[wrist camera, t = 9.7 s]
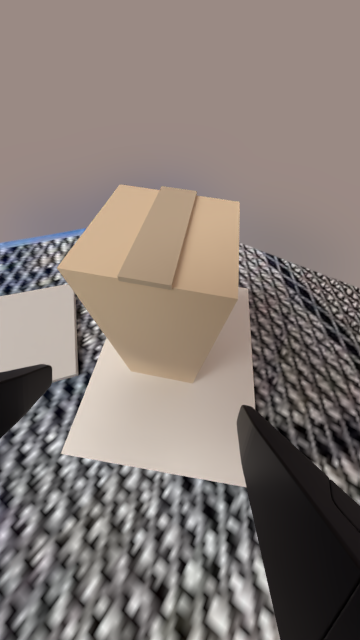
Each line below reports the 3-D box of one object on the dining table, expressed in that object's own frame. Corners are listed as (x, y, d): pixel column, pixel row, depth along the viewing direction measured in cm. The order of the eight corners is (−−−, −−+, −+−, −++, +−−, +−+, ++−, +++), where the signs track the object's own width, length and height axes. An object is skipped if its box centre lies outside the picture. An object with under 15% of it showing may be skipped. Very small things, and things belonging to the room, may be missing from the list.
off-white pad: (254, 485, 13) (260, 489, 12) (67, 451, 13) (61, 453, 13) (244, 293, 22) (247, 288, 21) (134, 277, 23) (132, 271, 22)
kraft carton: (192, 384, 15) (239, 297, 5) (130, 371, 16) (53, 265, 5) (200, 327, 18) (240, 197, 8) (147, 318, 19) (119, 180, 8)
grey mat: (78, 375, 16) (75, 373, 16) (-70, 416, 14) (-77, 416, 14) (75, 286, 22) (73, 283, 21) (-34, 306, 19) (-38, 303, 19)
